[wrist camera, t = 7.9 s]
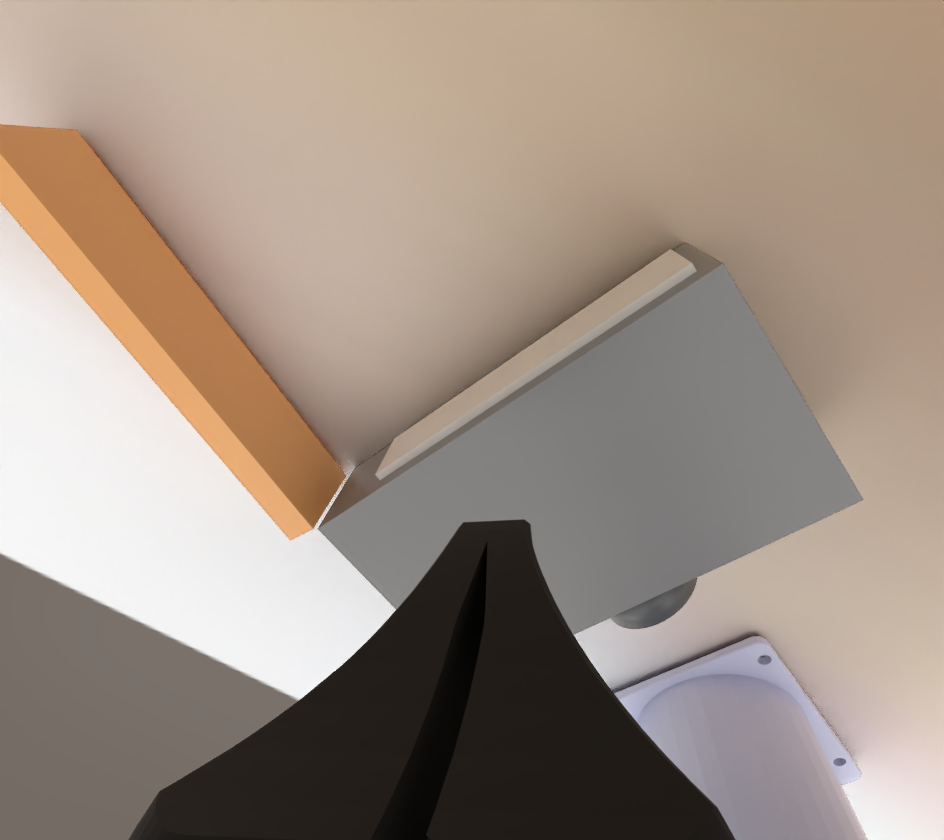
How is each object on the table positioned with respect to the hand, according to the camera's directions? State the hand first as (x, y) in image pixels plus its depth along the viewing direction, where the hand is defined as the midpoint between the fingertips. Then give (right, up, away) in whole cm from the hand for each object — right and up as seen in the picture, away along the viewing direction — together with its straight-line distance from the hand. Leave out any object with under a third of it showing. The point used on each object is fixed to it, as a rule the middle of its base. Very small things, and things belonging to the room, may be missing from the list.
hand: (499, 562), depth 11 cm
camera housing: (+3, +2, +9) cm, 10 cm away
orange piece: (-10, +6, +9) cm, 14 cm away
